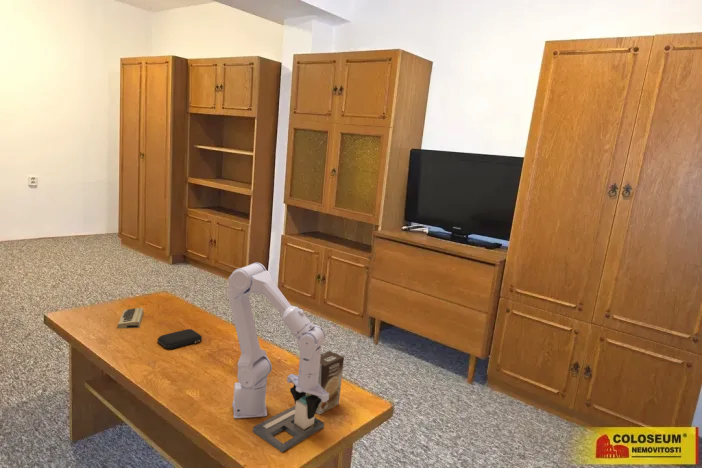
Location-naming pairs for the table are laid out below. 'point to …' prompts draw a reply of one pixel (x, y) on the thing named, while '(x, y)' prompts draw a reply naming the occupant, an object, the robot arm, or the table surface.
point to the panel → (285, 423)
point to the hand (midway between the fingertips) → (305, 414)
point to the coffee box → (330, 379)
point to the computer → (131, 318)
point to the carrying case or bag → (179, 339)
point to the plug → (302, 414)
